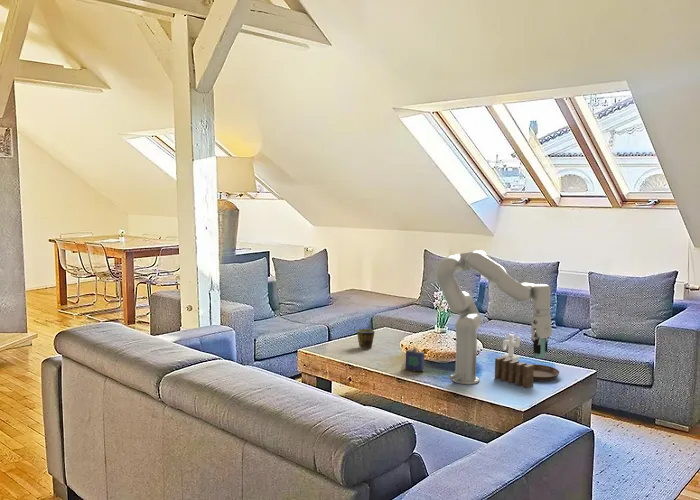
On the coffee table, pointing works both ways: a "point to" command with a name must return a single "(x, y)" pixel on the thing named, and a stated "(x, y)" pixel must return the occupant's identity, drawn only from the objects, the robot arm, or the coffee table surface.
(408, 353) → the flask
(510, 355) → the figurine
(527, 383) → the domino
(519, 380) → the domino
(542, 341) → the tile
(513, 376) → the domino
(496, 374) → the domino
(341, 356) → the coffee table surface
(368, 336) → the ceramic cup
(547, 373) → the plant saucer
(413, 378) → the coffee table surface
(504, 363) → the domino
